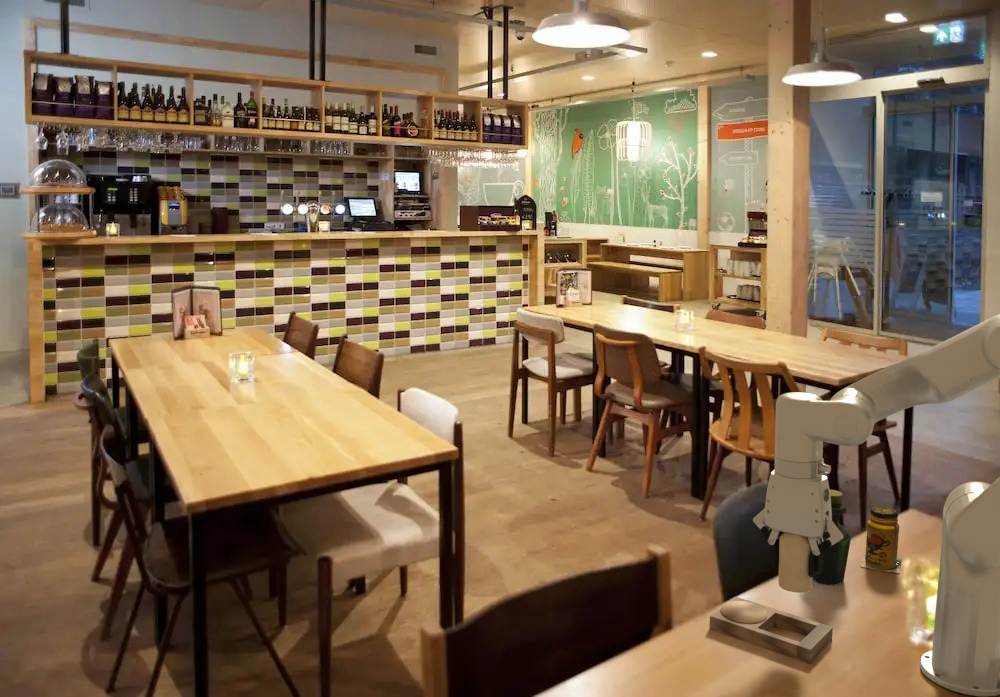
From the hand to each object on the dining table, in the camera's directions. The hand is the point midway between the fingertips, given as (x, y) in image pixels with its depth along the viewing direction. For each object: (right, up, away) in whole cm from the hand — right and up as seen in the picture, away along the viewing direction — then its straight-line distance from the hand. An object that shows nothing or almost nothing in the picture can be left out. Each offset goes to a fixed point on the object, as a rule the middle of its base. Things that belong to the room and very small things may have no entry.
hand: (795, 569), depth 146 cm
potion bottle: (+16, -9, +27) cm, 33 cm away
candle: (0, -3, +1) cm, 3 cm away
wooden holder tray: (-3, -13, +4) cm, 14 cm away
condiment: (+30, -8, +35) cm, 46 cm away
